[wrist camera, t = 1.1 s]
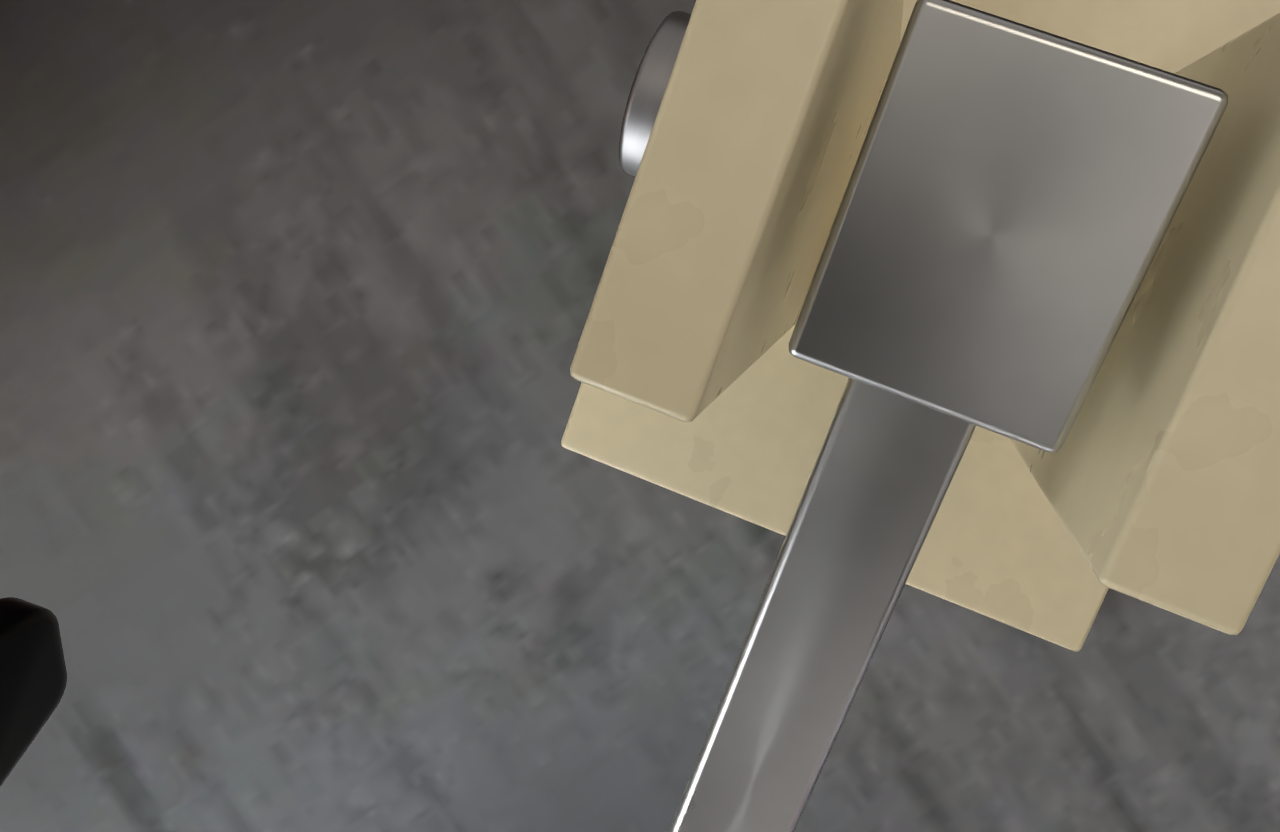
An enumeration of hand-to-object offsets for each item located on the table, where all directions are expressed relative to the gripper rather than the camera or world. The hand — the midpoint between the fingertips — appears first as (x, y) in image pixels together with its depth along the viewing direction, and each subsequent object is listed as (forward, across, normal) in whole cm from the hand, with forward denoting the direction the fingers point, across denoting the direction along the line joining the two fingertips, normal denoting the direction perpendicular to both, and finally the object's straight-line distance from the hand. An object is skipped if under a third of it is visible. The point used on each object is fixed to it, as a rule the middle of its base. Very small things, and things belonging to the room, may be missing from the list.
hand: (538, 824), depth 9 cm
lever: (+4, -2, 0) cm, 4 cm away
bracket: (+13, -2, -1) cm, 13 cm away
